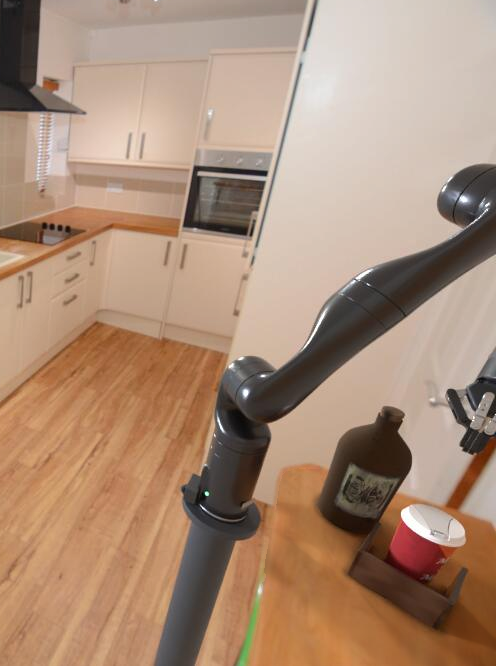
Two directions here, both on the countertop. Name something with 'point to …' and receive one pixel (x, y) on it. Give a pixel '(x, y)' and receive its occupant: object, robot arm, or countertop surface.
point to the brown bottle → (366, 473)
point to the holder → (404, 585)
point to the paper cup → (424, 542)
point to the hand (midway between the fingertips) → (468, 452)
